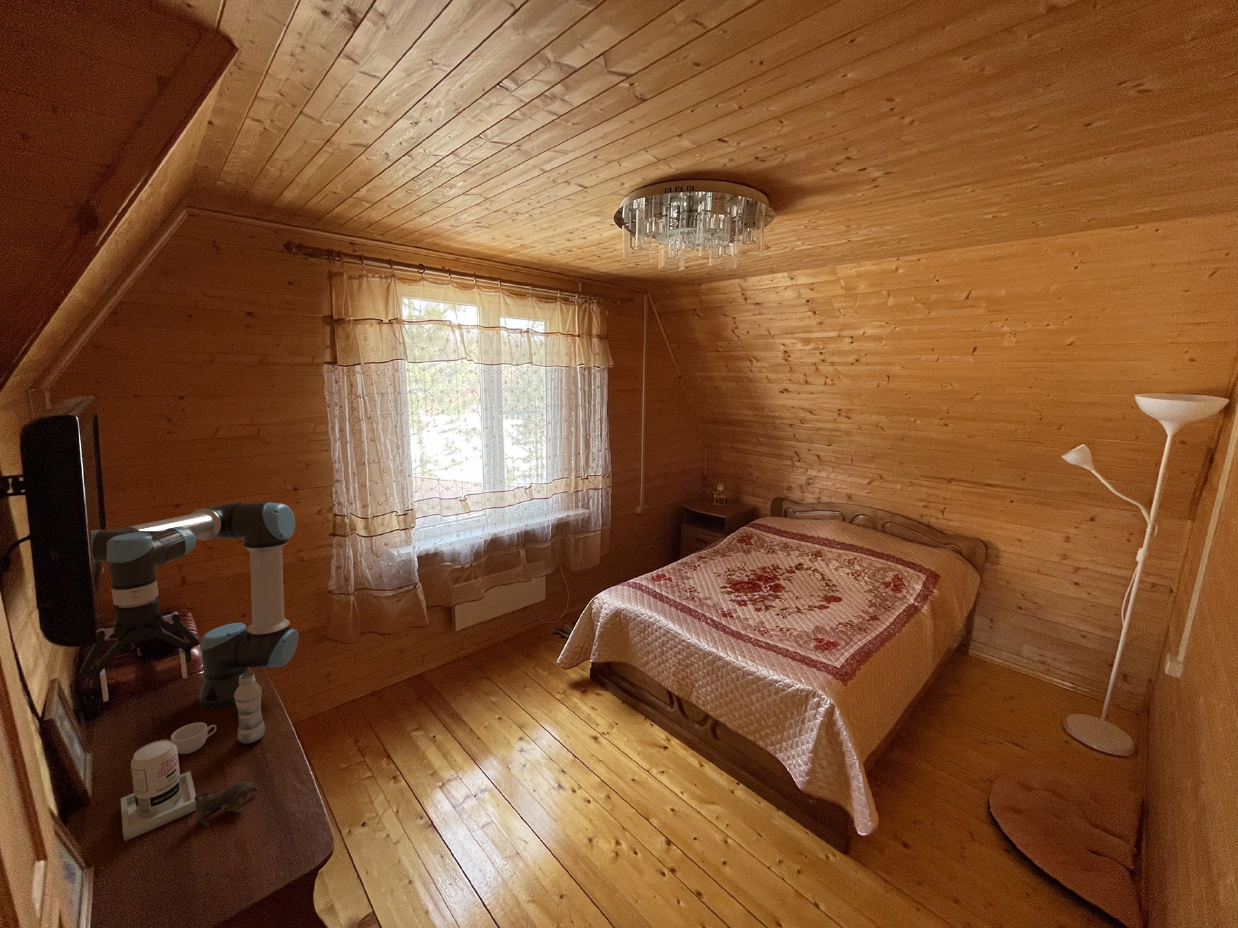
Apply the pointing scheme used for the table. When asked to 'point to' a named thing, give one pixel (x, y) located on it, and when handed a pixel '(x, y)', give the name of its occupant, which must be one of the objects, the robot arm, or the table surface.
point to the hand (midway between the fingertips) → (146, 686)
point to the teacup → (191, 737)
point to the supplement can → (156, 778)
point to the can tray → (140, 825)
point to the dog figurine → (222, 800)
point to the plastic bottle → (249, 709)
